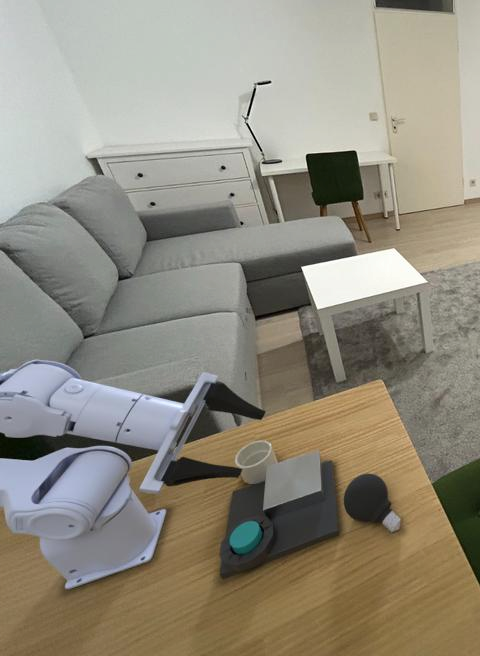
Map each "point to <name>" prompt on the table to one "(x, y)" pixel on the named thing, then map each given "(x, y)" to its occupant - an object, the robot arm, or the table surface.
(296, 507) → the plate
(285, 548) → the scale
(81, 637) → the table surface
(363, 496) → the light bulb
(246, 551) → the tare button
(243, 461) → the bowl
